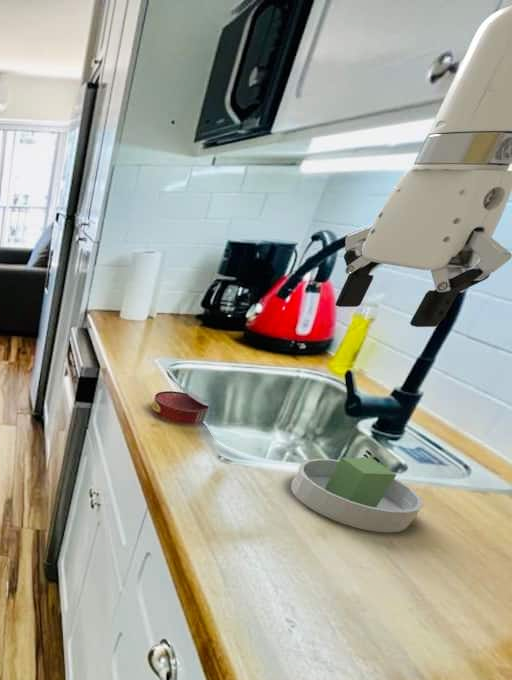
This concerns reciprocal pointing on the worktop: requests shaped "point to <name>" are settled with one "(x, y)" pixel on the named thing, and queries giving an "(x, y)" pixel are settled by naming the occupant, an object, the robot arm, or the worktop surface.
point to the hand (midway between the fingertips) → (382, 315)
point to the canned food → (180, 406)
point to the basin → (386, 517)
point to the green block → (360, 481)
